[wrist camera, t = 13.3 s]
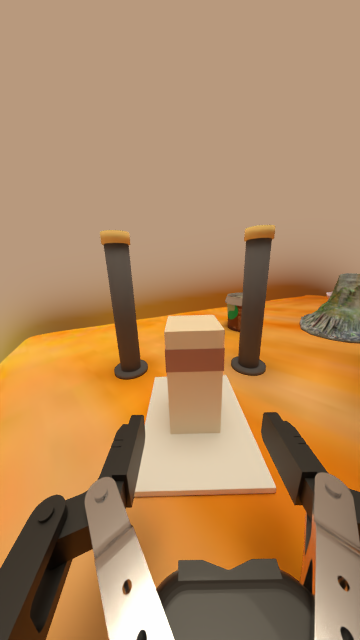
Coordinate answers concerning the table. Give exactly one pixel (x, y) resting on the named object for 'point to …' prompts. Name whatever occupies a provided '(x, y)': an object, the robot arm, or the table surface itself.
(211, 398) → the carton
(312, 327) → the tree stump
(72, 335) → the table surface
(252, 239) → the gate
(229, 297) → the food container
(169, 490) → the mat
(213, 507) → the table surface
